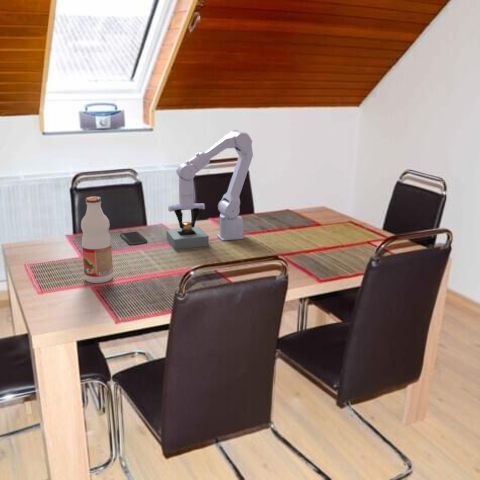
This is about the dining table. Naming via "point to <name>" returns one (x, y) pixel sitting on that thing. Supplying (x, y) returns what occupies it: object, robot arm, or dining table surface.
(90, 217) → the fruit juice
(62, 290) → the dining table surface
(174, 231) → the box
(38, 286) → the dining table surface
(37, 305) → the dining table surface
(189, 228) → the disc
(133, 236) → the phone
